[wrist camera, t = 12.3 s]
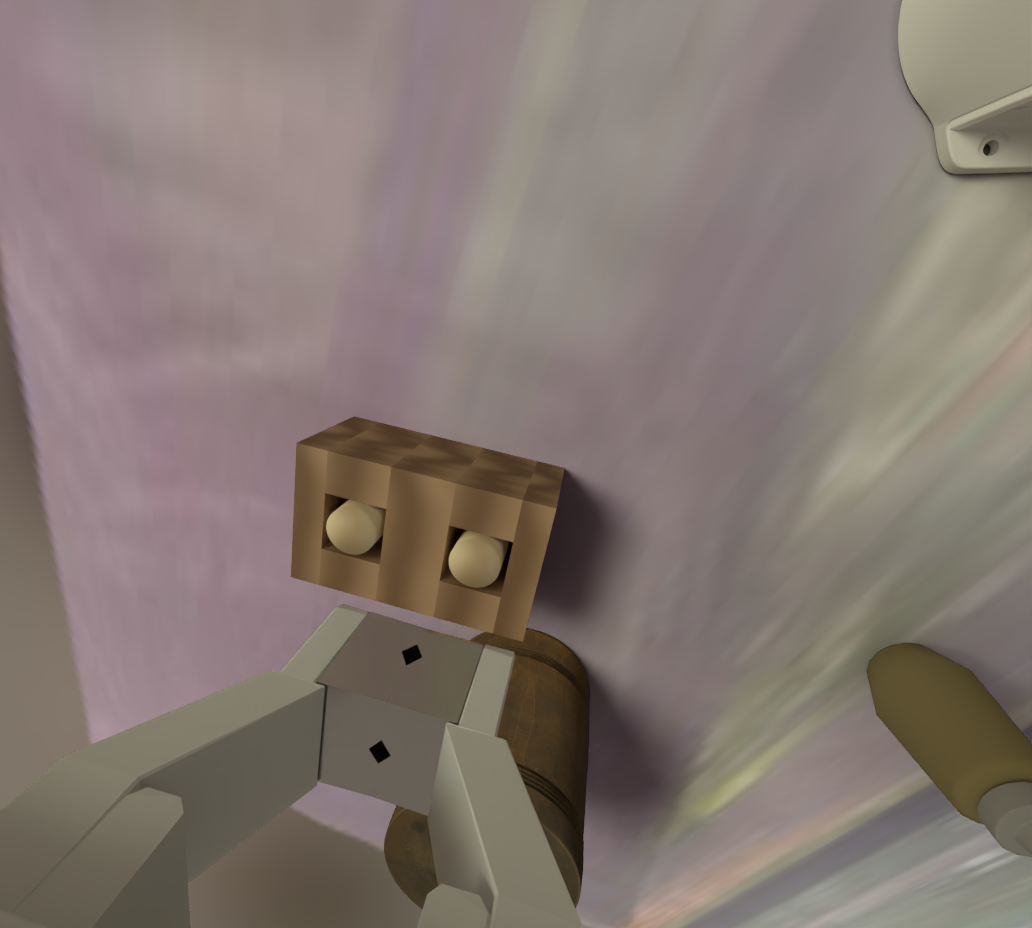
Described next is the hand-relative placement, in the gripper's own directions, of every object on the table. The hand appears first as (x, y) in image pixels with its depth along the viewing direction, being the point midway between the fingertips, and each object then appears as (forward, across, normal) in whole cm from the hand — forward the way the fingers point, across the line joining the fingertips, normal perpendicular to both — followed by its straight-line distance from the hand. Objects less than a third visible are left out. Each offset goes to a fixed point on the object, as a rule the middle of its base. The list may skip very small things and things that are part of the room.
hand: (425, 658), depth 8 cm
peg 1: (+33, +13, +14) cm, 38 cm away
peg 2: (+33, +3, +14) cm, 36 cm away
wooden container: (+34, -3, +33) cm, 48 cm away
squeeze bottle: (+34, -36, +19) cm, 53 cm away
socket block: (+34, +8, +14) cm, 38 cm away
